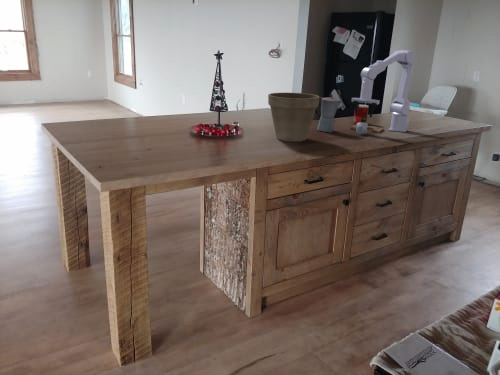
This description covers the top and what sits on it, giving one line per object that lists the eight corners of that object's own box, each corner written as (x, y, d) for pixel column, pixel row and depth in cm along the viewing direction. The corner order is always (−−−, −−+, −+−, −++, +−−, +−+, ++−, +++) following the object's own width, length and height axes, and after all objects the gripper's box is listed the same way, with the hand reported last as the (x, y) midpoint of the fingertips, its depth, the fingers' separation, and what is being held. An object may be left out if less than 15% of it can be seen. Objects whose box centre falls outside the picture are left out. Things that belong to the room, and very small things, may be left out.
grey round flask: (357, 131, 249) (358, 122, 247) (367, 133, 247) (368, 123, 245) (352, 134, 241) (354, 124, 240) (363, 135, 239) (364, 125, 237)
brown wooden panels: (383, 129, 257) (383, 127, 257) (379, 133, 248) (379, 130, 248) (355, 126, 264) (356, 124, 264) (350, 129, 255) (350, 127, 255)
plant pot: (258, 134, 231) (260, 91, 224) (301, 132, 240) (304, 91, 233) (278, 145, 209) (281, 98, 202) (324, 143, 218) (329, 98, 211)
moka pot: (338, 133, 242) (342, 96, 235) (309, 131, 244) (313, 94, 238) (338, 130, 251) (342, 93, 244) (311, 128, 253) (314, 92, 247)
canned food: (363, 125, 268) (365, 106, 265) (350, 123, 273) (353, 105, 269) (368, 123, 274) (370, 105, 271) (356, 121, 279) (358, 104, 275)
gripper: (351, 90, 239) (348, 115, 244) (378, 92, 233) (375, 118, 238) (354, 89, 245) (351, 114, 250) (381, 91, 239) (378, 117, 244)
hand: (363, 116), depth 244 cm, fingers open, 7 cm apart
